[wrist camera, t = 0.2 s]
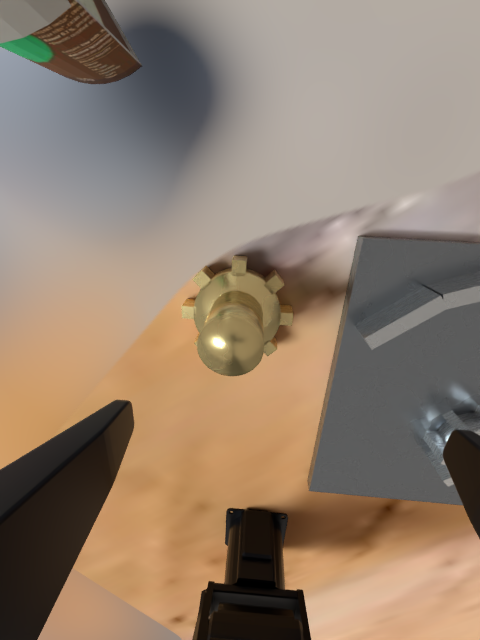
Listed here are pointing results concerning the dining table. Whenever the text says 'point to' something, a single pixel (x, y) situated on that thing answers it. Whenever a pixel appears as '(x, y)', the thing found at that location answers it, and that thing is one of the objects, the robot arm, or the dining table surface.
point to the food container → (68, 38)
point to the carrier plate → (401, 371)
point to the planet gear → (236, 317)
